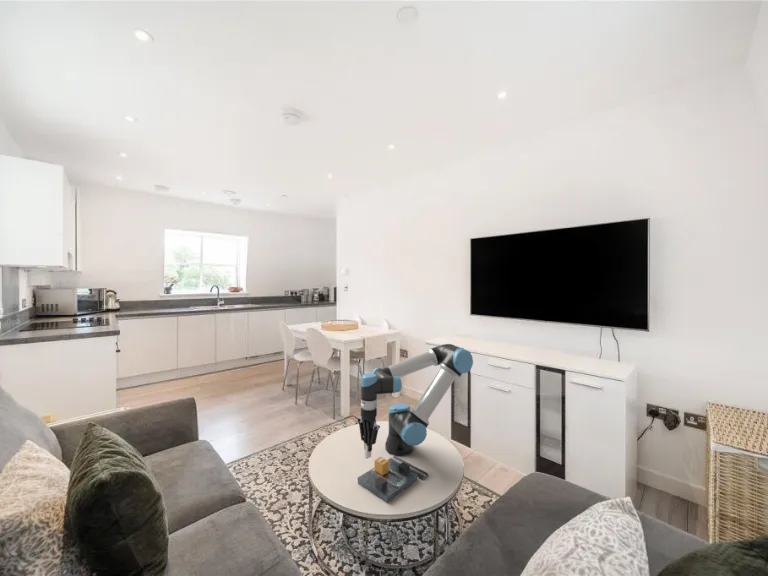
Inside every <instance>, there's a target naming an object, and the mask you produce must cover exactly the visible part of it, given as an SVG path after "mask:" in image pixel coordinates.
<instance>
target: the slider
mask: <svg viewBox="0 0 768 576" xmlns="http://www.w3.org/2000/svg"><path fill="white" fill-rule="evenodd" d="M374 468H375V472H377V473H379V474H380V475H382V476H383V475H385V474H386V473H388V472H389V461H388V459H386V458H385V457H382V456H380V457H378V458H376V459H375V460H374Z"/></svg>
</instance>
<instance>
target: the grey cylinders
mask: <svg viewBox="0 0 768 576" xmlns="http://www.w3.org/2000/svg"><path fill="white" fill-rule="evenodd" d="M389 460H391V461H393V462H395V463H396V464H398V465H399V464H401V463H405V464H407V465H409V466H410V471H411V472H413V473H415V474H417V475H418V479H421V480H425V479H426V478H427V477H429V473H428V472H427V471H425V470H423V469H421V468H419V467H417V466H416V465H413V464H411V463H410V462H407V461H406V460H404V459H402V458H401V457H399V456H396V455H393V456H391V457H390V458H389Z"/></svg>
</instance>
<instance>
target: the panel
mask: <svg viewBox="0 0 768 576" xmlns="http://www.w3.org/2000/svg"><path fill="white" fill-rule="evenodd" d="M389 459H390V458H389ZM389 459H387V460H388V461H389V472H388V473H386V474H385V475H383V476H382V475H380V474H379V473H377V472H375V467H373V468H371V469H370V470H368V471H366V472H364V473H363V474H361V475H359V476H358V477H357V484H358V485H360V486H361V487H362V488H364V489H365V490H367V491H368V492H370V493H372V494H373V495H374V496H376V497H377V498H379V499H380V500H382V501H383V502H384V503H387V504H388V503H389V502H391V501H392V500H393V499H395V498H397V497H398V496H399V495H401V494H402V493H403V492H405V491H406V490H408V489H409V488H410V487H412V485H414V484H415V483H417V482H418V481H419V477H418V475H417V474H415V473H413V472H411V471H410V466H409V465H407V464H405V463H401V464H399V465H398V464H396V463H395V462H393V461H391V460H389Z"/></svg>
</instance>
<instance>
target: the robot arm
mask: <svg viewBox="0 0 768 576" xmlns="http://www.w3.org/2000/svg"><path fill="white" fill-rule="evenodd" d="M473 364H474V360H473V355H472V354H471V352H470V351H469V350H467V349H466V348H464V347H459V346H457V345H455V344H451V343H445V344H441V345H438V346H435V347H432V348H430V349H428V351H426V352H423V353H421V354H419V355H416V356H414V357H413V356H412V357H411V358H408V359H405V360H402V361H399V362H397V363H393V364H391V365H389V366H387V367H384V368H381V367H376V368H374V369H373V370H372V371H371V373H369V372H368V373H364V374H363V375H361V379H360V380H361V381H360V393H361V394H360V417H359V418H358V419H357V422H358V425H359V434H360V440H361V441H363V444H364V445H363V446H364V447H363V448H364V458H365V459H369V458H371V457H372V451H373V445H375V444H376V442H377V438H378V432H379V430H380V428H381V426H380V425H378V424H377V420H376V417H377V415H378V414H377V413H378V412H377V411H378V408H377V407H378V395H384V394H395V393H400V392H401V391H402V386H403V384H402V379H401V378H404V377H405V376H408V375H410V374H413V373H416V372H418V371H421V370H423V369H426V368H429V367H431V366H434V367H437V366H440V369H439V371H438V372H437V373H436V375H435V377H434V378H433V380H432V381H431V382H430V383H429V385H428V386H427V388H426V390H425V391H424V393H423V394H422V396H421V397H420V398H419V400H418V402H417V403H416V404H415V406H414V407H412V408H411V406H410V404H407V403H397V404H396V403H395V404H392V405H391V406H390V405H389V407H388V434H387V437H386V441H385V444H384V445H385V451H386V453H388V454H389V455H392V456H396V457H405V456H409V455H410V454H412V453H413V452H414V449H415V448H414V446H419V445H421V444H422V443H423V442H424V441H425V440H426V437H427V432H428V431H427V428H428V426H429V425H430V421H429V419H430V417H431V415H432V414H433V413H434V411H435V410H436V408H437V407H438V405H439V404H440V402H441V401H442V399H443V397H444V396H445V395H446V394H447V392H448V390H449V389H450V387H451V386H452V384H453V382H454V381H455V380H456V379H460V377H461V376H462V375H463V374H466V373H470V372H469V371H471V370H472V368H473Z"/></svg>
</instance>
